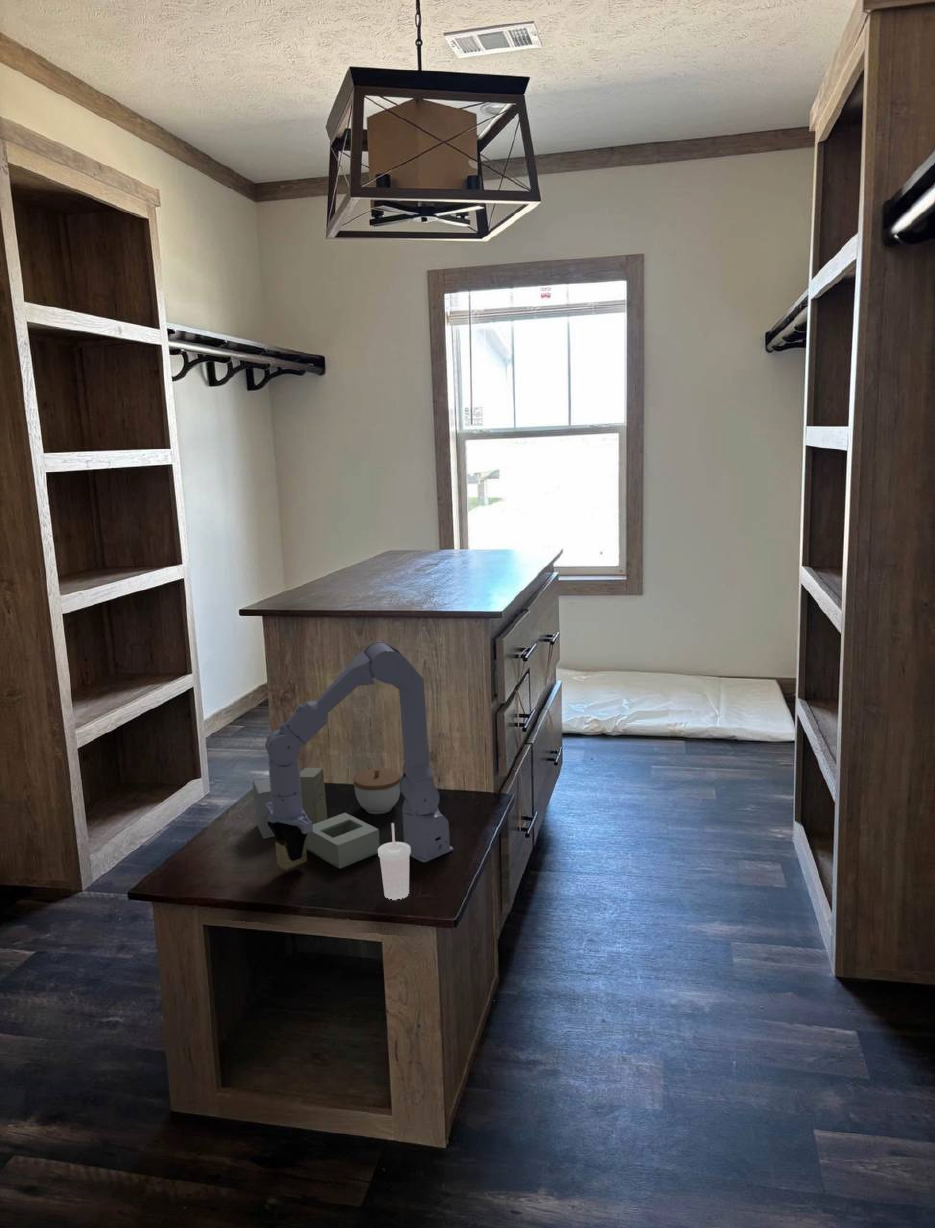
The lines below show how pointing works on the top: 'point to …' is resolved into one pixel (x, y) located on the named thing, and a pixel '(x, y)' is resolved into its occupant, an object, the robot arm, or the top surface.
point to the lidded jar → (377, 789)
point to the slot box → (343, 840)
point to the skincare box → (313, 794)
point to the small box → (262, 806)
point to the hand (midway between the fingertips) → (291, 856)
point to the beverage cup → (395, 868)
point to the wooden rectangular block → (287, 855)
